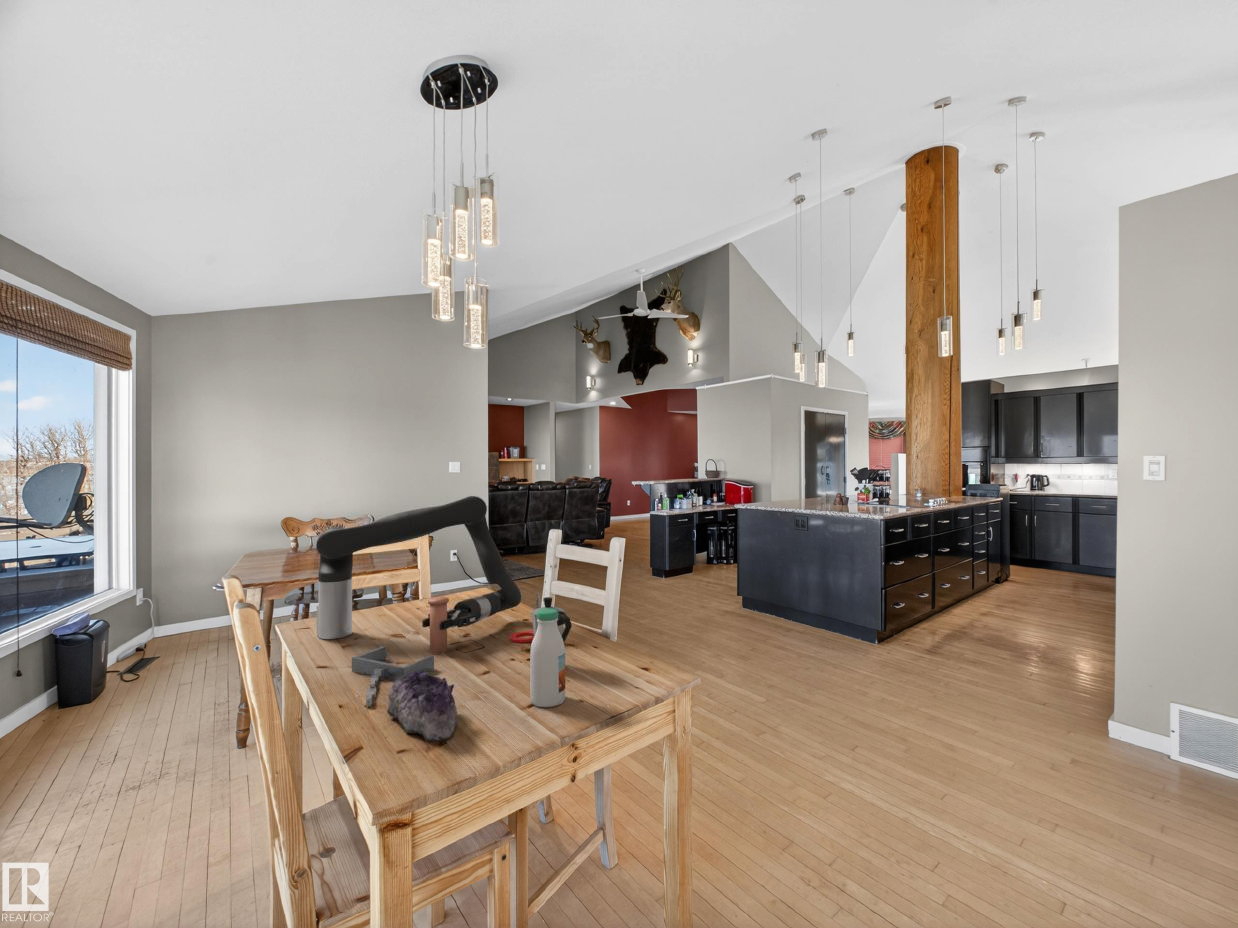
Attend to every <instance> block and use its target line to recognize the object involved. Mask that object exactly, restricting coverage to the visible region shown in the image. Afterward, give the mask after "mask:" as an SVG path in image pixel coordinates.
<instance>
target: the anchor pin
mask: <svg viewBox="0 0 1238 928" xmlns="http://www.w3.org/2000/svg"><path fill="white" fill-rule="evenodd" d="M449 602H450V598H449V597H446V596H437V597H435V596H434V597H431V598H429V599H427V604H428V605H429V614H430V626H429V653H430V654H431V655H440V654H445V653H446V652H448V628H447V629H444V630H440V622H442V621H445V620H447V611H448V603H449Z"/></svg>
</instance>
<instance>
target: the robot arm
mask: <svg viewBox="0 0 1238 928" xmlns="http://www.w3.org/2000/svg"><path fill="white" fill-rule="evenodd" d="M487 512H488V506H487V503H486V501H484V500H483V499H482V498H481V497H480V496H476V495H470V496H466V497H463V498H460V499H458V500H455V501H452V502H450V503H446V504H441V505H437V506H428V507H423V508H417V509H412V510H411V509H410V510H406V511H403V512H397V513H394V514H390V515H387V516H384V517H381V518H378V519H377V520H373V521H370V522H369V523H365V524H363V525H357V526H351V527H341V526H334V527H333V526H332V527H330V528H328V529H326V530H325V531H323V532H322V533H321V534H320V535H319V536H318V538H317V540H316V543H315V544H316V546H315V548H316V551H317V552H318V554H319V555H320V556H319V559H320V560H319V568H318V573H317V575H318V603H317V604H316V636H317V637H318V638H319V639H322V640H335V639H341V638H345V637H348V636H350V635H351V634H352V633H353V578H352V576H353V565H354V563H353V560H354V553H356V552H359V551H363V550H366V549H369V548H373V547H380V546H381V547H382V546H387V545H392V544H393V545H394V544H397V543H402V542H407V541H411V540H415V539H418V538H422V537H424V536H428V535H430V534H433V533H435V532H437V531H440V530H442V529H445V528H450V527H454V526H460V525H464V527H465V528H466V530H467V532H468V534H469V536H470V538H471V540H472V542H473V545H474V547H475V551H476V554H477V557H478V560H479V562H480V563H479V564H480V565H481V569H482V571H483V574H484V576H485V579H486V581H487V583H488V584H489V585H498V586H499V587H500V588H499V589H497V590H494V591H492V592H489V593H485V594H482V595H478V596H473V597H470V598H467V599H463V600H461V601H458V602H457V603H456V604H455V605H454V607H453V608H449V609H447V620H445V621H442V622H440V630H444V629H447V630H448V629H449V628H455V627H457V628H458V629H460V628H463V627H468V626H470V625H474V624H476V623H478V622H481V621H482V620H485V619H486V618H489V617H492V616H494V615H495V614H498V613H501V612H504V611H506V610H510V609H513V608H516V607H518V606H519V605H520V604H521V602H522V601H521V600H522V592H521V591H520V588H519V586H518V585H517V583H516V582H515V581H514V579H513V578H512V577H511V575H510V574H509V572H508V571H507V568H506V566H505V563H504V560H503V558H502V555H501V554H500V551H499V549H498V547H497V545H496V543H495V541H494V540H493V537H492V534H491V533H490V529H489V526H488V522H487V517H486V515H487ZM421 625H422V628H427V627H430V613H428V617H427V618H424V619H422V624H421Z"/></svg>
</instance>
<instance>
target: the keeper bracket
mask: <svg viewBox="0 0 1238 928" xmlns="http://www.w3.org/2000/svg"><path fill="white" fill-rule="evenodd" d="M386 660H387V646H385V645H383V646H380V647H377V648H375V649H372V650H370V651H366V652H364V653H361V654H358V655H355V656H353V657H351V672H352V673H357V674H362V675H366V676H370V677H371V675H376V676H379V681H384V680H388V681H389V680H390V681H393V682H395V681H397V680H404V679H406V678H407V677H408V676H409V675H410V674H412V673H414V672H415V671H417V672H419V673H420V674H423V673H426V672H427V673H429V672H431V671H433V670H435V654H429V655H428V656H426V657H423V658H421V659H419V660H415V661H413V662H412V663H409V664H407V665H404V666H403V665H398V664H393V663H389V662H385V661H386Z"/></svg>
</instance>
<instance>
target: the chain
mask: <svg viewBox="0 0 1238 928" xmlns="http://www.w3.org/2000/svg"><path fill="white" fill-rule="evenodd" d="M379 681H380V680H379V676H376V675H371V676H370V678H369V688H367V690H366V694H365V698H366V699H365V703H366V705H365V708H372V704H373V701H374V700H375V699H376V694H377V687H376V686H377V685H379Z"/></svg>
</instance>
